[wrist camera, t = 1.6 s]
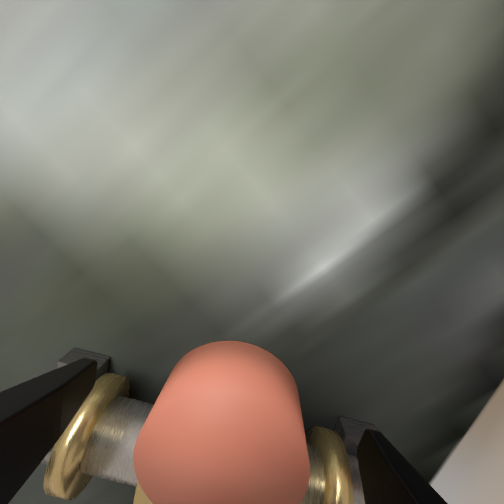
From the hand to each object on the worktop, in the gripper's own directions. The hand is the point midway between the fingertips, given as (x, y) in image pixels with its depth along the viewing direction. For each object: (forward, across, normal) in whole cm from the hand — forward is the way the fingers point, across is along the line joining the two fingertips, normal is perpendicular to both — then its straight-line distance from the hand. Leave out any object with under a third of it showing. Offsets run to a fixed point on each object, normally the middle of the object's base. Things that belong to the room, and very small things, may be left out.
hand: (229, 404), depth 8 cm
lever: (+2, 0, +4) cm, 4 cm away
